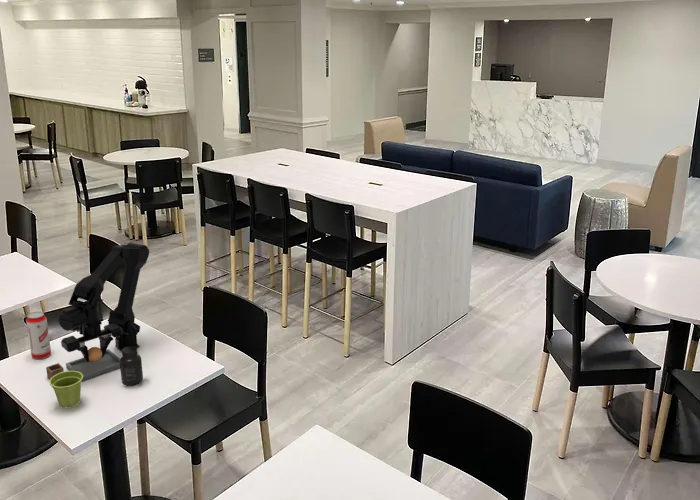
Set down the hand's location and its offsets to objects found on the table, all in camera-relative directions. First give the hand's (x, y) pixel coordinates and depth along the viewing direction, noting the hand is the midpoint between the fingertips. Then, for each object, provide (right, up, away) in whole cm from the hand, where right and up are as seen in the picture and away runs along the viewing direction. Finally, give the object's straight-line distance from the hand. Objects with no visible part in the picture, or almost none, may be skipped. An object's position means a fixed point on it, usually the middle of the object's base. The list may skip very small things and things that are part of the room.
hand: (94, 359), depth 206 cm
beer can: (-22, 0, +7) cm, 23 cm away
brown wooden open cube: (-10, -5, -6) cm, 13 cm away
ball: (0, +2, -1) cm, 2 cm away
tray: (0, -3, +1) cm, 3 cm away
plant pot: (0, -10, -19) cm, 22 cm away
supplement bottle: (+15, -7, -6) cm, 17 cm away
